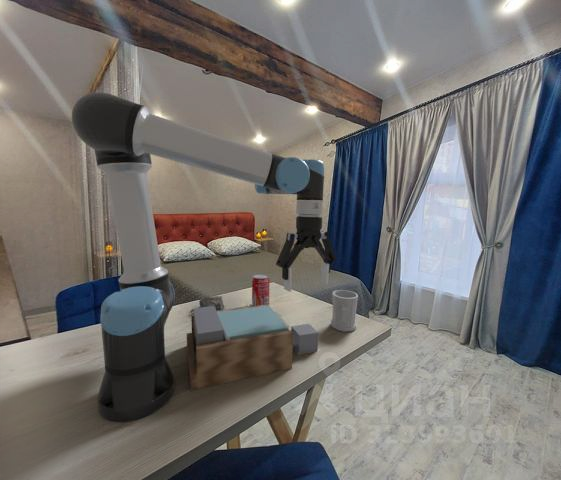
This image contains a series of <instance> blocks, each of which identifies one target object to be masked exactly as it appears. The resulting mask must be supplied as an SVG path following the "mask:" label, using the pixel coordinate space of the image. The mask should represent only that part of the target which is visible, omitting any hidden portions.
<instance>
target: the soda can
mask: <svg viewBox="0 0 561 480" xmlns="http://www.w3.org/2000/svg"><path fill="white" fill-rule="evenodd" d="M251 298H252V299H251V305H252V306H258V305H266V304H268V305H269V306H270V278H269V274H266V273H264V274H263V273H258V274H254V275H253V276H252V281H251Z"/></svg>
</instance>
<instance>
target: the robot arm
mask: <svg viewBox="0 0 561 480" xmlns="http://www.w3.org/2000/svg"><path fill="white" fill-rule="evenodd" d="M71 122H72V126H73V129H74V131H75V133H76V135H77V136H78V137H79V138H80V139H81V142H83V143H84V144H86V145H87V147H90V148H91V149H93V151H94V155H95V160H96V166H97V168H98V169H99V170H100V171H102V172H103V173H104V174H105V176H106V179H107V185H108V191H109V195H110V201H111V207H112V212H113V217H114V223H115V229H116V234H117V239H118V245H119V250H120V257H121V263H122V267H123V273H122V274H121V276H120V277H119V278H118V285H119V291H115V292H113V293H111V294H110V295H108V296H107V297H106V298H105V299H104V301H103V302H102V304H101V307H100V317H99V318H100V319H99V322H100V326H101V338H102V348H103V357H104V358H103V359H104V374H103V377H102V381H101V384H100V387H99V391H98V394H97V399H96V400H97V411H98V413H99V415H100V416H101V417H102V418H104V419H105V420H107V421H111V422H128V421H129V422H130V421H133V420H139V419H141V418H144V417H146V416H149V415H150V414H152V413H154V412H156V411H158V410H159V409H160V408H162V407H163V406H165V405H166V403H167V402H169V400H170V399H171V398H172V396H173V394H174V392H175V376H174V373H173V371H172V369H171V367H170V365H169V362H168V359H167V357H166V349H165V346H166V345H165V325H166V322H167V321H168V318H169V314H170V312H171V310H172V309H173V306H174V304H175V293H176V292H175V290H174V287H173V284H172V283H171V281H170V275H169V271H168V269H167V268H165V267H163V266H162V265H161V263H162V262H161V258H160V252H159V246H158V238H157V232H156V226H155V220H154V213H153V207H152V201H151V200H152V199H151V195H150V187H149V181H148V172H149V171H150V170H151V168H152V167H153V164H152V157H151V156H154V157H155V156H156V157H159V158H162V159H165V160H170V161H173V162H176V163H180V164H184V165H187V166H190V167H194V168H198V169H202V170H205V171H208V172H211V173H215V174H219V175H221V176H226V177H229V178H233V179H237V180H240V181H243V182H246V183H249V184H254V190H255V192H256V193H258V194H262V195H263V194H265V195H296V210H295V212H296V215H297V216H296V217H295V218H296V219H295V228H296V233H292V232H287V233H286V237H285V238H286V239H285V241H284V244H283V247H282V249H281V251H280V254H279V255H278V258H277V261H276V262H275V265H276V266H277V267H279V268H281V269H282V270H281V271H282V274H281V278H282V279H283V289H284V290H285V291H287V292H292V283H293V281H292V280H293V279H292V277H293V276H292V274H293V273H292V272H293V269H292V268H290V267H291V266H292V265H293V263H294V261H296V259H297V257H298V256H299V254H300V253H301V252H302V251H304V249H309V248H313V249H315V250H316V252H317V253H318V254H319V256H320V258H321V259H322V261H324V262H321V269H320V283H321V284H322V285H326V286H328V285H329V278H330V277H329V275H330V273H331V268H332V267H331V265H332V264H334V263H335V261H337V256H336V254H335V250H334V247H333V245H332V242H331V239H330V232H329V231H327V230H322V229H323V217H322V215H323V207H324V206H323V205H324V189H325V188H324V185H325V164H324V161H322V160H319V159H312V158H311V159H301V158H300V157H296V156H294V157H293V156H292V157H289V156H288V157H284V156H281V155H277V154H275V153H274V154H273V153H272V152H269V151H265V150H262V149H259V148H257V147H253V146H249V145H248V144H244V143H241V142H237V141H235V140H232V139H229V138H225V137H223V136H219V135H217V134H213V133H212V132H211V133H210V132H208V131H204V130H202V129H198V128H195V127H193V126H189V125H186V124H183V123H180V122H176V121H175V120H174V121H173V120H171V119H168V118H164V117H162V116H159V115H155V114H153V113H152V112H151V110H150V109H149V107H148V106H145V105H142V104H139V103H137V102H134V101H131V100H128V99H125V98H123V97H120V96H118V95H114V94H112V93H109V92H108V93H107V92H104V91H103V92H101V91H100V92H99V91H98V92H94V91H93V92H90V93H87V94H85V95H82V96H81V97H79V99H78V100H76V102H75V104H74V106H73V108H72V111H71ZM320 240H321V241H320ZM295 241H296V242H295Z"/></svg>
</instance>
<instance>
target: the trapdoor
mask: <svg viewBox="0 0 561 480" xmlns="http://www.w3.org/2000/svg"><path fill="white" fill-rule="evenodd" d="M192 314H193V316H194V330H195V336H196V343H197V345H204V344H210V343H216V342H222V341H223V334H224V337H225V340H226V341H228V340H234V339H240V338H246V337H252V336H258V335H265V334H271V333H277V332H283V331H288V327H287V326H286V325H285V324H284V322H283V321H282V320H281V319H280V318H279V317H278V316H277V314H276V313H275V311H274V310H273V308H271V306H270V305H269V306H261V307H253V308H245V309H237V310H229V311H221V312H219V311H216V309H215V306H209V307H201V306H199V307H193V313H192Z"/></svg>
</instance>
